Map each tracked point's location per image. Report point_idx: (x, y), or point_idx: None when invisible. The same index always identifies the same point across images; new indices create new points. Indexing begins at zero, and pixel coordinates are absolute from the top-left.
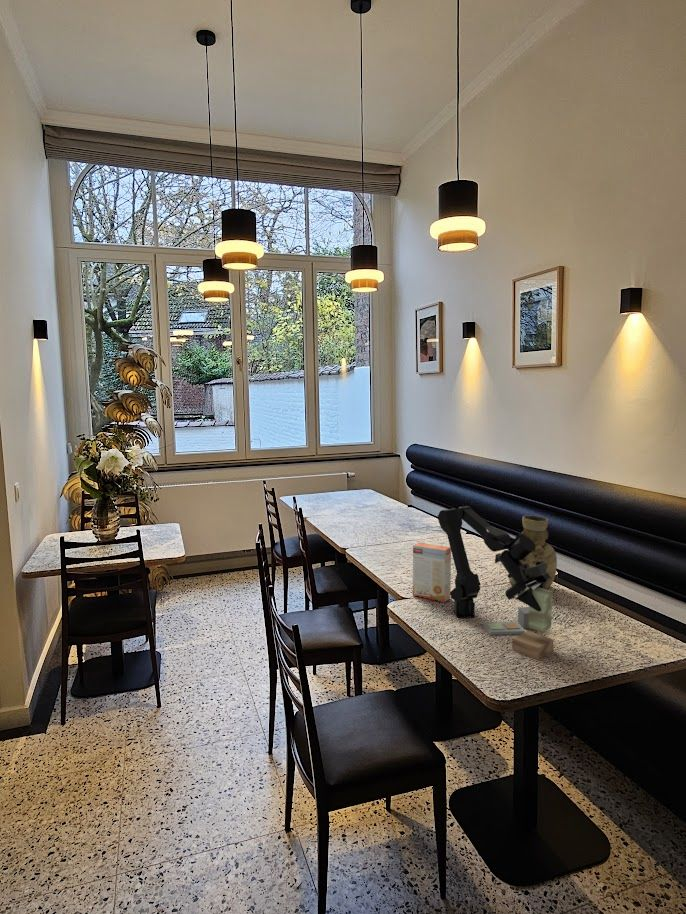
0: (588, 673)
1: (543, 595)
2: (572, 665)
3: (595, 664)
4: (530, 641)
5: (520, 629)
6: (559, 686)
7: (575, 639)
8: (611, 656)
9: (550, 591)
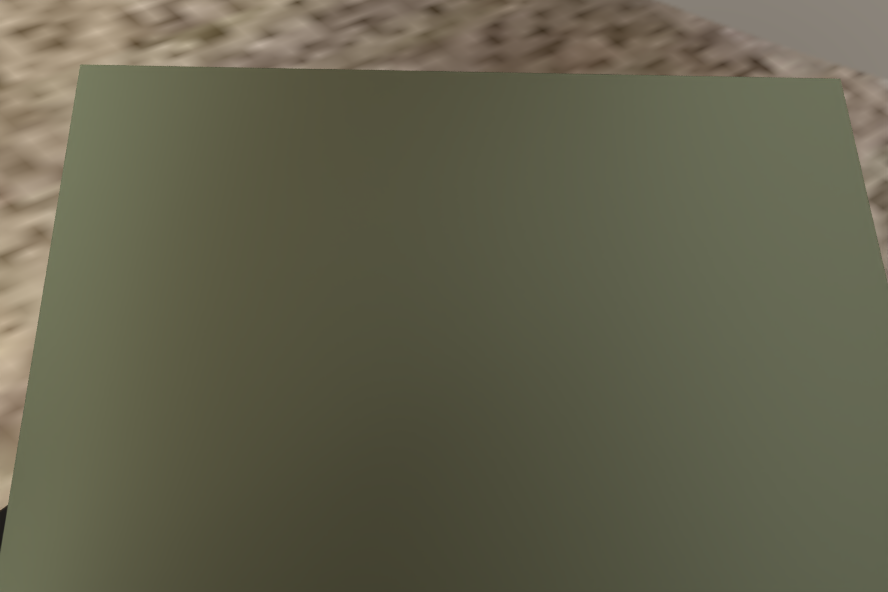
0: (533, 20)
1: (832, 137)
2: None
3: (371, 39)
4: None
5: None
6: (835, 64)
7: (18, 331)
8: (158, 16)
9: (162, 131)
